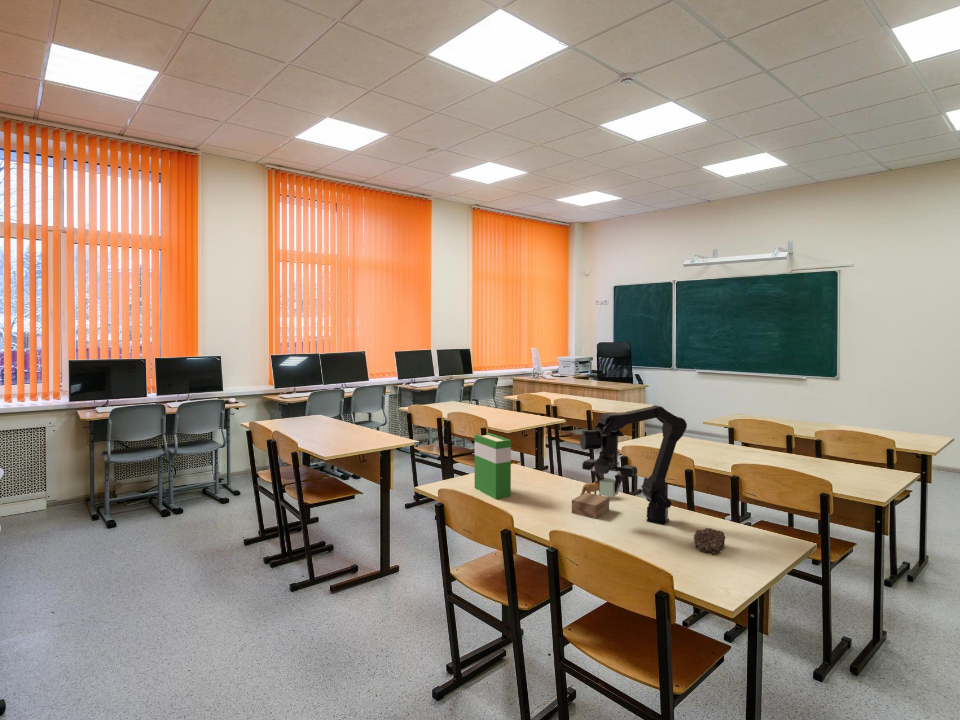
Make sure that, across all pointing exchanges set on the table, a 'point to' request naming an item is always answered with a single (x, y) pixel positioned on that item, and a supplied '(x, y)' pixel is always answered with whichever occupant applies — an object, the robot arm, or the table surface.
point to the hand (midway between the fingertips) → (608, 491)
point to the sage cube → (607, 487)
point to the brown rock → (709, 541)
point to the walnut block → (590, 505)
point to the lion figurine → (591, 487)
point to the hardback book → (493, 465)
